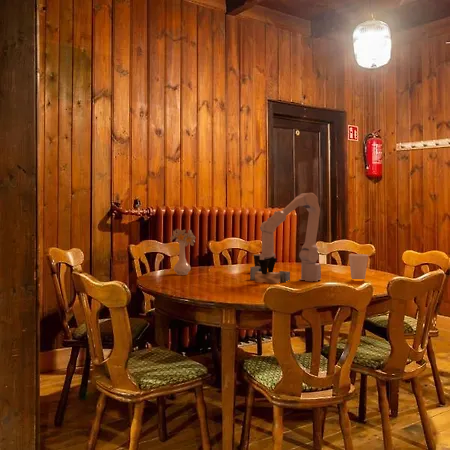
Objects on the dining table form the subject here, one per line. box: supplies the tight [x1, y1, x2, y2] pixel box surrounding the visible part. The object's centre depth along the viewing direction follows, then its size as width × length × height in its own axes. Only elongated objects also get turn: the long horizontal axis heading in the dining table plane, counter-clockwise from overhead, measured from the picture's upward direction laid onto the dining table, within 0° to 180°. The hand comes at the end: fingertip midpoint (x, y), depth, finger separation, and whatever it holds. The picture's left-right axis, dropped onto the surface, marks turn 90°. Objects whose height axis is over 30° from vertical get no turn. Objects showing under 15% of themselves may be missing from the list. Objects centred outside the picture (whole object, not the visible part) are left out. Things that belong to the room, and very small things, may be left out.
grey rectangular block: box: [249, 265, 262, 281], centre depth 244 cm, size 4×7×6 cm, turn 151°
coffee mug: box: [253, 253, 268, 270], centre depth 270 cm, size 12×9×10 cm
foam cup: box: [348, 253, 369, 280], centre depth 241 cm, size 10×9×13 cm
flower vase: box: [169, 228, 197, 276], centre depth 261 cm, size 13×18×25 cm
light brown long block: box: [254, 271, 281, 284], centre depth 234 cm, size 12×4×5 cm, turn 62°
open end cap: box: [274, 270, 291, 283], centre depth 238 cm, size 5×7×5 cm
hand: (267, 273), depth 234 cm, fingers open, 7 cm apart
